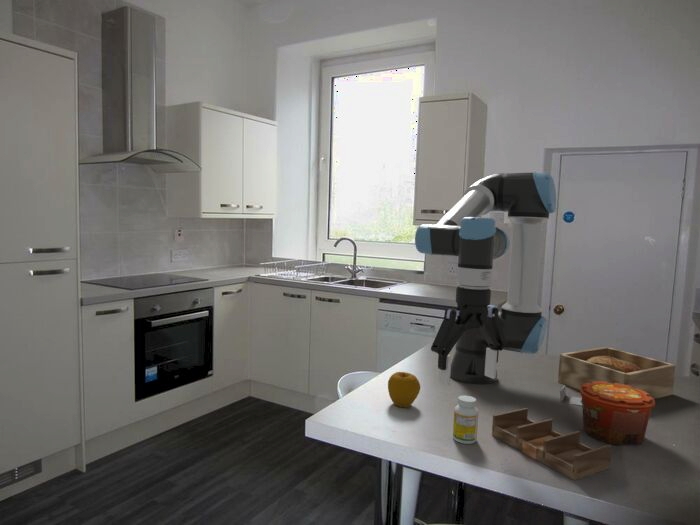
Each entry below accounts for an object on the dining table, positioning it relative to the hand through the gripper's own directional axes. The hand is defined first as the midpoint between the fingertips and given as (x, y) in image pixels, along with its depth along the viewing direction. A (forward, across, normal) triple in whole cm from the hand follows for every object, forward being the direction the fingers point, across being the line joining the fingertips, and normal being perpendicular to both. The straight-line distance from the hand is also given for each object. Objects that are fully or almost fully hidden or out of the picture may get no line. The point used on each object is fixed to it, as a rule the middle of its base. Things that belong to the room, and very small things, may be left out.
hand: (467, 380), depth 111 cm
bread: (+13, +68, +8) cm, 70 cm away
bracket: (+14, +48, +5) cm, 50 cm away
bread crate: (+13, +68, +8) cm, 70 cm away
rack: (+14, +14, -12) cm, 23 cm away
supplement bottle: (+14, 0, 0) cm, 14 cm away
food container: (+14, +36, -13) cm, 40 cm away
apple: (+14, 0, +23) cm, 27 cm away
